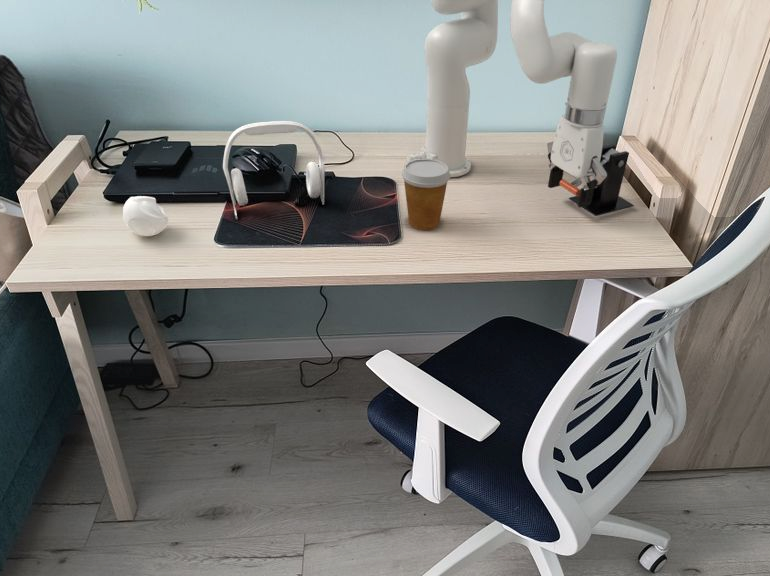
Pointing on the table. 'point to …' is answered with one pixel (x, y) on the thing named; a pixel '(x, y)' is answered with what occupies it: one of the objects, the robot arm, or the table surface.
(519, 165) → the table surface
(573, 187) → the lever
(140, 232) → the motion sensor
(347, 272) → the table surface
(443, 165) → the disposable coffee cup
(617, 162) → the stand
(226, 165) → the headset
